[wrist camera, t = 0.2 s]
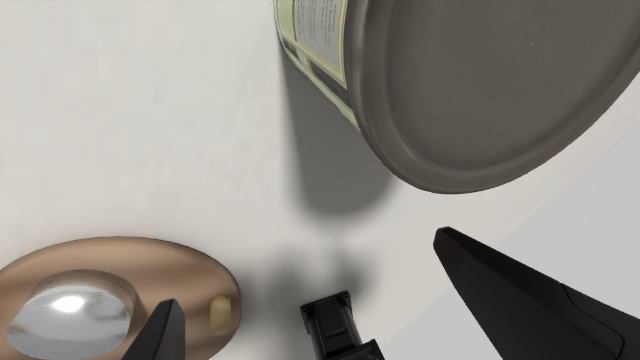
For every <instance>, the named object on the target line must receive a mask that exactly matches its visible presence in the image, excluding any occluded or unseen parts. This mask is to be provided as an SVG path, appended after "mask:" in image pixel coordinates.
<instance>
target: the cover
mask: <svg viewBox="0 0 640 360" xmlns="http://www.w3.org/2000/svg"><path fill="white" fill-rule="evenodd" d="M136 301H137V293H136V290H135V288H134V287H133V286H132V285H131V284H130V283H129V282H128V281H127V280H125V279H123V278H122V277H120V276H117V275H115V274H112V273H109V272H105V271H99V270H90V269H78V270H69V271H63V272H59V273H56V274H53V275H50V276H48V277H46V278H44V279H43V280H41V281H40V282H39V283H37V284H36V286H35V287H34V288H33V290H32V291H31V293H30V294H29V296H28V297H27V299H26V301H25V302H24V304H23V305H22V307H21V308H20V310H19V311H18V313H17V314H16V316H15V318H14V319H13V321H12V322H11V324H10V325H9V327H8V329H7V333H6V334H7V339H8V342H9V343H10V344H11V345H12V346H13V347H14V348H15V349H16V350H18V351H19V352H21V353H23V354H26V355H28V356H31V357H35V358H39V359H45V360H82V359H88V358H92V357H96V356H99V355H102V354H105V353H107V352H109V351H111V350H113V349H115V348H116V347H117V346H119V345H120V344H121V343H122V342H123V341H124V339H125V338H126V336H127V332H128V329H129V325H130V322H131V318H132V315H133V312H134V308H135V305H136Z"/></svg>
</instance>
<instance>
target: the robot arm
mask: <svg viewBox="0 0 640 360" xmlns="http://www.w3.org/2000/svg"><path fill="white" fill-rule="evenodd" d="M433 247H434V250H435V252H436V254H437V256H438V258H439V260H440V262H441V263H442V265H443V267H444V269H445V271H446V273H447V275H448V277H449V278H450V280H451V282H452V284H453V286H454V287H455V289H456V290H457V292H458V294H459V295H460V296H461V298H462V299H463V301H464V302H465V304H466V305H467V307H468V308H469V310H470V311H471V313H472V314H473V316H474V317H475V319H476V320H477V321H478V323H479V325H480V326H481V328H482V329H483V331H484V332H485V334H486V335H487V337H488V338H489V340H490V341H491V343H492V344H493V346H494V347H495V349H496V350H497V351H498V353H499V354H500V356H501V357H502V359H503V360H640V319H638V318H636V317H634V316H631V315H629V314H627V313H624V312H622V311H620V310H618V309H615V308H613V307H611V306H609V305H606V304H604V303H602V302H600V301H598V300H595V299H593V298H591V297H589V296H587V295H585V294H583V293H581V292H579V291H577V290H575V289H573V288H571V287H569V286H567V285H565V284H563V283H559V281H557V280H554V279H553V278H551V277H549V276H547V275H545V274H543V273H541V272H539V271H537V270H535V269H533V268H531V267H529V266H527V265H525V264H523V263H521V262H519V261H517V260H515V259H513V258H511V257H509V256H507V255H505V254H503V253H501V252H499V251H497V250H495V249H493V248H491V247H489V246H487V245H485V244H483V243H481V242H479V241H477V240H475V239H473V238H471V237H469V236H467V235H465V234H463V233H461V232H459V231H457V230H455V229H453V228H451V227H448V226H446V227H442V228H439V229H437V231H436V234H435V238H434V242H433ZM300 311H301V314H302V317H303V320H304V323H305V326H306V329H307V332H308V334H309V335H311V338H312V342H313V347H314V351H315V355H316V359H317V360H385V359H384V357H383V355H382V353H381V351H380V349H379V346H378V344H377V342H376V340H375V339H372V340H370V341H369V342H367V343H364V344H363V343H362V341H361V338H360V336H359V333H358V330H357V328H356V325H355V323H354V320H353V314H352V307H351V299H350V294H349V292H343V293H340V294H337V295H334V296H331V297H328V298H325V299H322V300H319V301H316V302H314V303H311V304H308V305H305V306H302V307H301V308H300ZM121 360H185V314H184V311H183V310H182V308H181V306H180V305H179V303H178V301H177V300H176V299H175V298H170V299H166V300H163V301H161V302H159V303H158V305H157V306H156V308H155V309H154V311H153V312H152V313H151V315H150V316H149V318H148V319H147V321H146V322H145V324H144V325H143V327H142V328H141V330H140V331H139V333H138V334H137V336H136V337H135V339H134V340H133V342H132V343H131V345H130V346H129V348H128V349H127V351H126V352H125V354H124V355H123V357H122V358H121Z"/></svg>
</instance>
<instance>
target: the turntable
mask: <svg viewBox="0 0 640 360" xmlns="http://www.w3.org/2000/svg"><path fill="white" fill-rule="evenodd" d="M78 269H90V270H99V271H105V272H109V273H112V274H115V275H117V276H120V277H122V278H123V279H125V280H127V281H128V282H129V283H130V284H131V285H132V286H133V287H134V288H135V290H136V293H137V301H136V305H135V308H134V312H133V315H132V318H131V322H130V325H129V329H128V332H127V336H126V338H125V339H124V341H123V342H122V343H121V344H120V345H119V346H117V347H116V348H115V349H113V350H111V351H109V352H107V353H105V354H102V355H99V356H96V357H92V358H88V359H82V360H121V358H122V357H123V355H124V354H125V352H126V351H127V349H128V348H129V346H130V345H131V343H132V342H133V340H134V339H135V337H136V336H137V334H138V333H139V331H140V330H141V328H142V327H143V325H144V324H145V322H146V321H147V319H148V318H149V316H150V315H151V313H152V312H153V311H154V309H155V308H156V306H157V305H158V303H159V302H161V301H163V300H166V299H170V298H175V299H176V300H177V301H178V303H179V305H180V306H181V308H182V310H183V311H184V314H185V360H208V359H210V358H211V357H213V356H214V355H215V354H217V353H218V352H219V351H220V350H221V349H223V348H224V347H225V345H226V344H227V343H228V342H229V341H230V340H231V338H232V337H233V336H234V334H235V332H236V330H237V328H238V326H239V322H240V317H241V304H240V294H239V290H238V287H237V285H236V282H235V281H234V279H233V278H232V276H231V275H230V274H229V273H228V272H227V271H226V270H225V269H224V267H222V266H221V265H220V264H218V263H217V262H216V261H214V260H213V259H211V258H209V257H208V256H206V255H204V254H202V253H200V252H198V251H195V250H193V249H190V248H188V247H185V246H181V245H178V244H175V243H171V242H166V241H161V240H156V239H149V238H140V237H119V236H114V237H95V238H87V239H80V240H73V241H69V242H64V243H60V244H55V245H52V246H49V247H46V248H43V249H40V250H37V251H34V252H32V253H30V254H27V255H25V256H23V257H21V258H19V259H17V260H15V261H14V262H12V263H10V264H9V265H7V266H5V267H4V268H3V269H1V270H0V360H45V359H39V358H35V357H31V356H28V355H26V354H23V353H21V352H19V351H18V350H16V349H15V348H14V347H13V346H12V345H11V344H10V343H9V342H8V339H7V334H6V333H7V329H8V327H9V325H10V324H11V322H12V321H13V319H14V318H15V316H16V314H17V313H18V311H19V310H20V308H21V307H22V305H23V304H24V302H25V301H26V299H27V297H28V296H29V294H30V293H31V291H32V290H33V288H34V287H35V286H36V284H37V283H39V282H40V281H41V280H43V279H44V278H46V277H48V276H50V275H53V274H56V273H59V272H63V271H69V270H78Z"/></svg>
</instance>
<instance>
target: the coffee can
mask: <svg viewBox="0 0 640 360" xmlns="http://www.w3.org/2000/svg"><path fill="white" fill-rule="evenodd" d="M274 15H275V22H276V27H277V31H278V35H279V38H280V41H281V43H282V45H283V47H284V49H285V51H286V53H287V55H288V56H289V58H290V60H291V61H292V62H293V63H294V64H295V66H296V67H297V68H298V69H299V70H300V71H301V72H302V73H304V74H305V75H306V76H307V77H308V78H309V79H310V80H311V81H312V82H313V83H314V84H315V85H316V86H317V87H318V88H319V89H320V90H321V91H322V92H323V93H324V94H325V95H326V96H327V97H328V98H329V100H330V101H331V102H332V103H333V104H334V105H335V106H336V107H337V108H338V109H339V110H340V111H341V113H342V114H343V115H344V116H345V117H346V118H347V119H348V120H349V121H350V122H351V123H352V124H353V125H354V126H355V127H356V128H357V129H358V130H359V131H360V132H361V133H362V135H363V136H364V138H365V140H366V141H367V143H368V145H369V146H370V147H371V149H372V150H373V152H374V153H375V154H376V156H377V157H378V158H379V159H380V160H381V161H382V163H383V164H384V165H385V166H386V167H387V168H388V169H389V170H390V171H391V172H392V173H393V174H394V175H396V176H397V177H399V178H400V179H401V180H403V181H405V182H406V183H408V184H410V185H412V186H414V187H416V188H418V189H421V190H425V191H428V192H432V193H438V194H465V193H472V192H478V191H483V190H487V189H491V188H494V187H498V186H500V185H503V184H505V183H508V182H511V181H513V180H515V179H517V178H519V177H521V176H523V175H524V174H527V173H528V172H530V171H532V170H533V169H535V168H537V167H538V166H540V165H542V164H544V163H545V162H547V161H548V160H549V159H551V158H552V157H554V156H555V155H556V154H558V153H559V152H561V151H562V150H563V149H565V148H566V147H567V146H568V145H570V144H571V143H572V142H573V141H575V140H576V139H577V138H578V137H579V136H581V135H582V134H583V133H584V132H585V131H586V130H587V129H589V128H590V127H591V126H592V125H593V124H594V123H595V122H596V121H597V120H598V119H599V118H600V117H601V116H602V115H603V114H604V113H605V112H606V111H607V110H608V109H609V107H610V106H611V105H612V104H613V103H614V102H615V101H616V100H617V99H618V97H619V96H620V95H621V94H622V93H623V92H624V90H625V89H626V88H627V87H628V86H629V84H630V83H631V82H632V81H633V79H634V78H635V77H636V75H637V74H638V73H639V71H640V0H274Z"/></svg>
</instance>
